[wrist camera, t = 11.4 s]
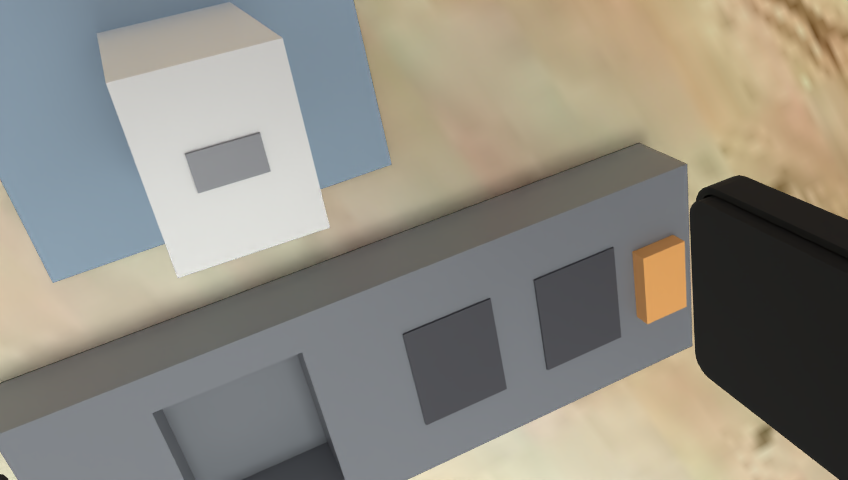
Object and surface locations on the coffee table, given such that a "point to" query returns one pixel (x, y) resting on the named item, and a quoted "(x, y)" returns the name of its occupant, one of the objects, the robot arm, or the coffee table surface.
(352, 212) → the coffee table surface
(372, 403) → the power strip
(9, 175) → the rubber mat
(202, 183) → the block
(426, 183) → the coffee table surface
